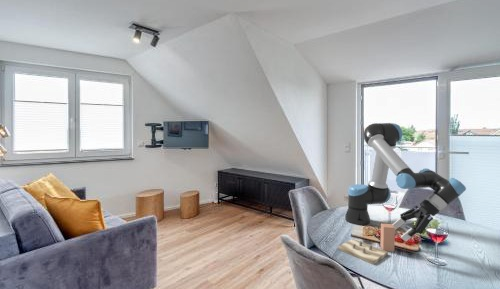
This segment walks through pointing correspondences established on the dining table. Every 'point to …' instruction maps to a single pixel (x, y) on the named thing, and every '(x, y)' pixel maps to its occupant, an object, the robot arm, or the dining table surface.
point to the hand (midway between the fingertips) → (397, 233)
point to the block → (387, 237)
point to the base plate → (363, 251)
